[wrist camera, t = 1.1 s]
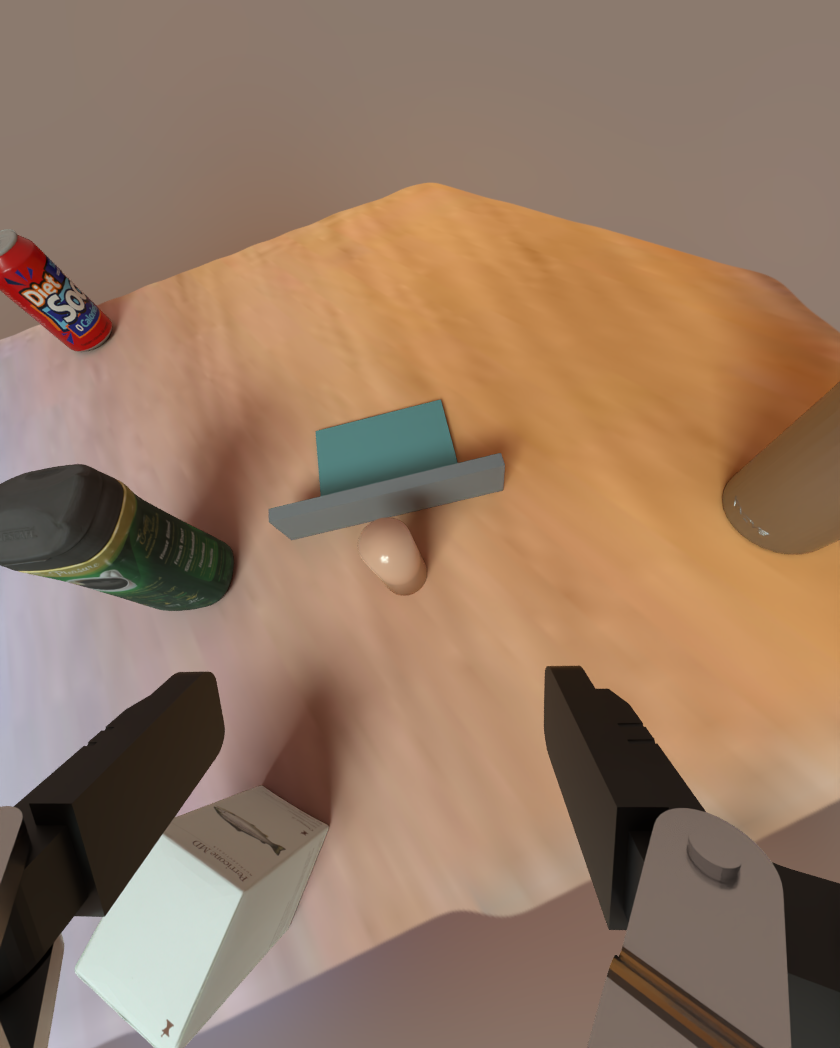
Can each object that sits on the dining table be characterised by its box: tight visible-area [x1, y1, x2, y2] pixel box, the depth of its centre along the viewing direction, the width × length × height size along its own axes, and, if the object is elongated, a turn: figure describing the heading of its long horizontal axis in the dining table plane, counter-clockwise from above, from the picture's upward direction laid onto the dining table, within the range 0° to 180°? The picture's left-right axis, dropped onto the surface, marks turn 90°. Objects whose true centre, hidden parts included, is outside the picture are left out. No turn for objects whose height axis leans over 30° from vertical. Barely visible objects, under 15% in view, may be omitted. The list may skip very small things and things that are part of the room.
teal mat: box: [316, 400, 457, 496], centre depth 46 cm, size 16×11×1 cm
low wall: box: [269, 453, 505, 540], centre depth 41 cm, size 24×2×5 cm, turn 100°
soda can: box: [0, 229, 112, 351], centre depth 58 cm, size 8×8×15 cm
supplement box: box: [75, 785, 329, 1048], centre depth 26 cm, size 7×7×13 cm
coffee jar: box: [0, 464, 234, 611], centre depth 35 cm, size 10×8×19 cm
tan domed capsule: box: [358, 517, 427, 596], centre depth 36 cm, size 4×4×9 cm
